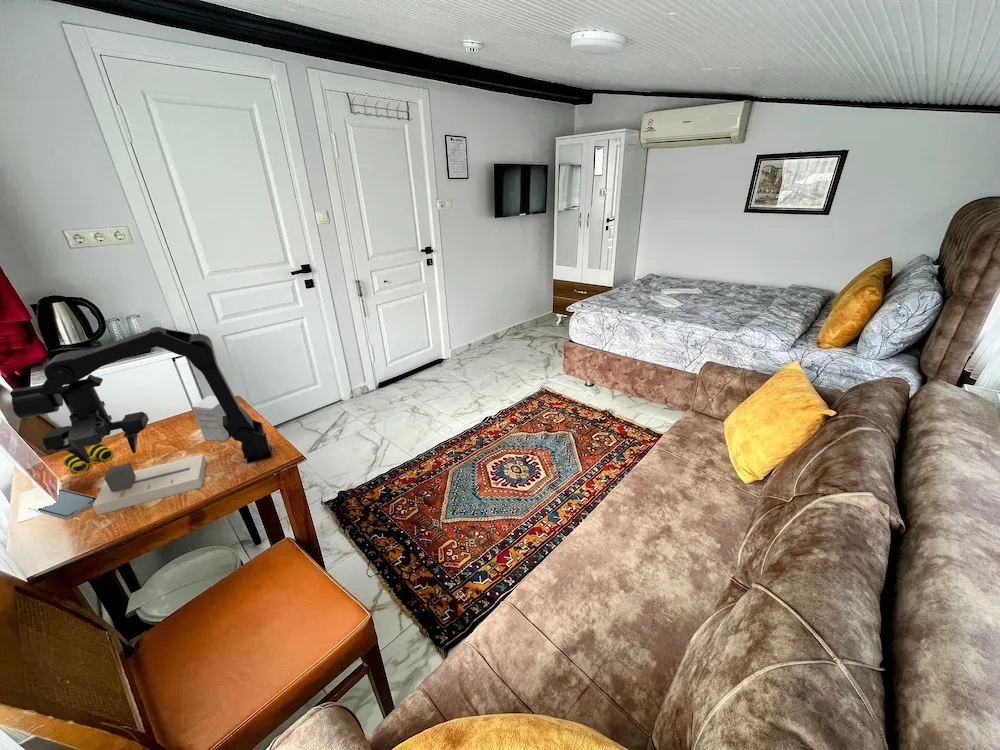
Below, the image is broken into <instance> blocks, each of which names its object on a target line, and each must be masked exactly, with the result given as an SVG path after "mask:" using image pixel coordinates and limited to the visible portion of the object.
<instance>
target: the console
mask: <svg viewBox="0 0 1000 750" xmlns="http://www.w3.org/2000/svg"><path fill="white" fill-rule="evenodd" d="M206 467H207V461H206V458H205V455H204V454H200V455H199V454H198V455H195V456H191V457H187V458H182V459H179V460H174V461H170V462H166V463H162V464H157V465H154V466H150V467H145V468H144V467H143V468H140V469H136V470H133V471H134V473H135V475H136V477H135V479H134V482H133V484H132V486H131V487H130V488H126V489H122V490H118V491H114V492H111V490H110V488H109V486H108V485H107V483H106V481H105V480H104V483H103V485H102V486H101V489H100V490H99V492H98V495H97V498H96V500H95V502H94V504H93V505H92V508H93V509H94V511H95V513H96V514H97V516H98V515H102V514H106V513H110V512H113V511H116V510H122V509H125V508H128V507H132V506H137V505H140V504H144V503H148V502H152V501H155V500H158V499H163V498H166V497H170V496H173V495H178V494H181V493H184V492H188V491H193V490H197V489H201V488H202V487H203V482H204V479H205V478H204V476H205V471H206Z"/></svg>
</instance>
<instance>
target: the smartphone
mask: <svg viewBox="0 0 1000 750" xmlns="http://www.w3.org/2000/svg"><path fill="white" fill-rule="evenodd" d="M58 490H59V495H58V499H57V501H56V503H54V504H53V505H50V506H45V507H43V508H39V509H38V511H40V512H39V513H42V512H43V513H42V514H45V513H46V515H48V514H49V516H52V517H56V518H58V519H59V518H60V519H64V520H70V519H71V518H73V517H75V516H77V515H78V514H80V513H82V512H83V511H84V510H87V509H88V508H90V507H92V506H93V504H94V502H95V500H96V498H97V497H96V496H92V495H88V494H85V493H80V492H76V491H72V490H69V489H64V488H63V489H62V488H61V489H60V488H59V489H58ZM38 511H37V512H38Z"/></svg>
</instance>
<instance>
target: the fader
mask: <svg viewBox="0 0 1000 750" xmlns="http://www.w3.org/2000/svg"><path fill="white" fill-rule="evenodd" d="M134 471H135V470H134V469H133V467H132V465H131V463H130V462H126V463H123V464H118V465H114V466H110V467H109V468H108V469H107V472H106V474H105V476H104V478H103V479H104V482H105V481H106V483H107V485H108V486H109V488H110V490H111V492H114V491H118V490H122V489H126V488H130V487H131V486H132V484H133V482H134V479H135V477H136V475H135V473H134Z"/></svg>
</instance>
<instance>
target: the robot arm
mask: <svg viewBox="0 0 1000 750" xmlns="http://www.w3.org/2000/svg"><path fill="white" fill-rule="evenodd" d="M154 348H161V349H164V350H166V351H168V352H171V353H173V354H176V355H177V356H181V357H186V359H188V361H189V362H190V363H191V364H192V366H194V367H195V368H196V369H197V370H198V371H200V372H201V374H203V377H204V378H205V380H206V382H207V384H208V386H209V387H210V389H211V391H212V393H213V394H214V395H213V396H216V398H217V400H218V402H219V403H220V405H221V407H222V409H223V411H224V412H225V414H226V416H223V417H222V419H223V427H224V428H225V429H226V431H227V432H228V434H229V438H231V437H232V440H234V441H236V442H240V443H241V452H242V454H243V457H244V459H246V463H247V464H250V463H253V462H258V461H261V460H265V459H269V458H271V457H272V445H271V444H270V441H269V438H268V435H267V432H265V429H264V426H263V423H262V422H261V421H258V420H255V419H253V418H252V417H251V416H250V414H249V413H248V412H247V410H245V409H244V408H243V407H242V406H240V404H239V402H238V400H237V398H236V396H235V395H234V392H233V391H232V389H231V386H230V385H229V383H228V381H227V380H226V377H225V376H224V374H223V372H222V371H221V368H220V366H219V364H218V361H217V356H216V353H215V348H214V345H213V341H212V339H211V338H210V337H209V336H208V335H205V334H203V333H194V334H193V333H189V332H185V331H180V330H174V329H173V330H172V329H168V328H164V327H161V326H153V327H151V328H149V329H148V330H145V331H143V332H138V333H136V334H133V335H130V336H127V337H124V338H121V339H118V340H115V341H113V342H109V343H107V344H104V345H100V346H98V347H93V348H90V349H89V348H88V349H77V350H70V351H68V352H62V353H59V354H56V355H55V356H54V357H53V358H52V359H51V360H50V362H48V364H46V366H45V368H44V371H43V372H44V376H45V377H46V380H45V381H44V382H43V384H39V385H33V386H26V387H17V388H13V389H12V390H11V391H10V393H9V394H10V396H11V404H12V407H13V408H12V411H13V412H14V414H15V415H16V416H17V417H18V418H20V419H27V418H34V417H37V416H41V415H47V414H52V413H57V412H59V409H60V407H62V406H64V404H65V406H66V408H67V409H68V411H69V414H70V415H69V416H68V418H69V420H70V422H71V423H70V425H66V426H62V427H57V428H51V429H50V430H49V431H48V432H47V433H46V435H44V437H43V438H42V439H41V446H42V447H43V448H44V450H45V451H52V450H53V451H56V452H57V451H64V452H67V453H69V454H73V455H75V456H76V457H78V458H79V459H81V460H82V461H84V462H85V463H87V464H88V465H90V463H91V462H90V458H89V455H88V451H87V449H86V447H88V446H89V447H91V446H93V445H97V444H99V443H102V440H103V439H104V438H105V437H107V436H110V435H111V431H115V430H120V429H121V430H122V432H123V433H124V434H123V437H125V438H126V440H127V442H128V444H129V448H130V451H131V452H132V453H133V454H136V453H137V444H138V434H140V433H141V432H142V431H143V430H145V429H146V427H147V425H148V422H149V421H150V418H149V416H148V414H147V413H145V412H143V411H139V412H134V413H127V414H125V416H124V417H123V419H122V420H116V421H113V422H112V419H113V418H112V416H111V415H108V413H107V411H106V408H105V405H106V403H105V402H104V400H103V401H102V400H101V398H100V396H99V395H98V392H97V390H96V387H100V386H101V384H103V380H104V378H102V377H98V376H94V375H93V374H92V373H94V372H95V371H96V370H99V368H101V367H103V366H104V367H105V366H106V365H107V366H108V365H110V364H112V363H114V362H117V361H120V360H123V359H126V358H128V357H131V356H134V355H137V354H139V353H143V352H146V351H149V350H152V349H154ZM85 377H87V378H85Z"/></svg>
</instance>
